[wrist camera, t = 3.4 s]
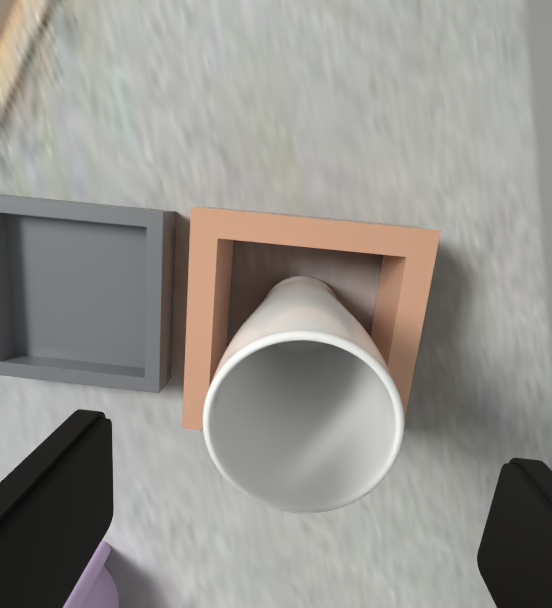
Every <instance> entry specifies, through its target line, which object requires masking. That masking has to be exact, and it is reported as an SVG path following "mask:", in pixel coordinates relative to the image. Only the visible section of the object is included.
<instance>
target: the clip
mask: <svg viewBox="0 0 552 608" xmlns="http://www.w3.org/2000/svg"><path fill="white" fill-rule="evenodd" d="M110 553H111V547H110V546H109V545H108V543H106V542H104V541H101V542H100V544H99V546H98V547H97V549H96V551H95V553H94V554H93V556H92V558H91V560H90V561H89V563H88V565H87V567H86V568H85V570H84V572H83V573H82V575H81V577H80V579H79V580H78V582H77V584H76V586H75V587H74V589H73V591H72V593H71V594H70V596H69V598H68V599H67V601H66V603H65V605H64V606H63V608H118V607H119V598H118V592H117V588H116V585H115V583H114V580H113V578H112V576H111V575H110V573H109V572H108V570H107V569H106V567H105V566H104V564H105V562H106V560H107V558H108V556H109V554H110Z"/></svg>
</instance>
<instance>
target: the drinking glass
mask: <svg viewBox="0 0 552 608" xmlns="http://www.w3.org/2000/svg"><path fill="white" fill-rule="evenodd" d="M404 425H405V420H404V410H403V405H402V401H401V398H400V395H399V392H398V390H397V388H396V385H395V383H394V381H393V378H392V376H391V374H390V371H389V369H388V367H387V365H386V362H385V360H384V358H383V357H382V355H381V353H380V351H379V349H378V348H377V346H376V344H375V343H374V341H373V340H372V338H371V337H370V335H369V334H368V333H367V331H366V330H365V329H364V327H363V326H362V325H361V324H360V323H359V322H358V321H357V319H356V318H355V317H354V316H353V315H352V314H351V313H350V312H349V311H348V310H347V309H346V308H345V307H344V306H343V305H342V304H341V303H340V301H339V300H338V299H337V297H336V296H335V294H334V292H333V291H332V290H331V289H330V288H329V287H328V286H327V285H326V284H325V283H323V282H321V281H320V280H318V279H315V278H312V277H308V276H294V277H290V278H287V279H284V280H282V281H281V282H279V283H277V284H276V285H275V286H274V287H273V288H272V289H271V290H270V291H269V292H268V294H267V296H266V297H265V299H264V301H263V302H262V303H261V304H260V305H259V307H258V308H257V309H256V310H255V311H254V312H253V313H252V314H251V315H250V317H249V318H248V319H247V320H246V321H245V322H244V323H243V325H242V326H241V327H240V329H239V330H238V331H237V333H236V334H235V335H234V337H233V338H232V340H231V342H230V343H229V345H228V347H227V349H226V350H225V352H224V354H223V356H222V358H221V361H220V363H219V365H218V367H217V369H216V372H215V374H214V377H213V380H212V383H211V385H210V387H209V390H208V393H207V395H206V399H205V403H204V410H203V431H204V437H205V442H206V445H207V448H208V451H209V453H210V456H211V458H212V460H213V462H214V463H215V465H216V467H217V468H218V470H219V471H220V472H221V474H222V475H223V476H224V477H225V479H226V480H227V481H228V482H229V483H230V484H231V485H232V486H233V487H235V488H236V489H237V490H238V491H239V492H241V493H242V494H244V495H245V496H247V497H248V498H250V499H252V500H254V501H255V502H257V503H260V504H262V505H264V506H267V507H270V508H273V509H276V510H280V511H285V512H291V513H320V512H326V511H331V510H335V509H338V508H341V507H344V506H347V505H349V504H351V503H353V502H355V501H357V500H359V499H360V498H362V497H364V496H365V495H367V494H368V493H369V492H371V491H372V490H373V489H374V488H375V487H377V486H378V485H379V484H380V483H381V481H382V480H383V479H384V478H385V477H386V476H387V474H388V473H389V472H390V470H391V468H392V467H393V465H394V463H395V461H396V459H397V457H398V455H399V452H400V449H401V446H402V442H403V437H404Z"/></svg>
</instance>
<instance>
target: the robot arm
mask: <svg viewBox="0 0 552 608" xmlns="http://www.w3.org/2000/svg"><path fill="white" fill-rule="evenodd" d="M112 517H113V461H112V423H111V420H110V419H106V418H105V414H104V413H103V412H99V411H90V410H81V409H80V410H77V411H75V412H74V413H73V414H72V415H71V416H70V417H69V418H68V419H67V420H66V421H65V422H63V423H62V424H61V425H60V426H59V427H58V428H57V429H56V430H55V431H54V432H53V433H52V434H51V435H50V436H49V437H48V438H47V439H46V440H44V441H43V442H42V443H41V444H40V445H39V446H38V447H37V448H36V449H35V450H34V451H33V452H32V453H31V454H30V455H29V456H28V457H27V458H25V459H24V460H23V461H22V462H21V463H20V464H19V465H18V466H17V467H16V468H15V469H14V470H13V471H12V472H11V473H10V474H9V475H8V476H7V477H5V478H4V479H3V480H2V481H1V482H0V608H63V606H64V605H65V603H66V601H67V599H68V598H69V596H70V594H71V593H72V591H73V589H74V587H75V586H76V584H77V582H78V580H79V579H80V577H81V575H82V573H83V572H84V570H85V568H86V567H87V565H88V563H89V561H90V560H91V558H92V556H93V554H94V553H95V551H96V549H97V547H98V546H99V544H100V542H101V541H102V539H103V537H104V535H105V534H106V532H107V530H108V528H109V526H110V524H111V521H112ZM477 562H478V568H479V571H480V573H481V576H482V578H483V580H484V582H485V584H486V586H487V588H488V590H489V592H490V594H491V596H492V598H493V600H494V602H495V604H496V606H497V608H552V471H551V470H550V469H549V467H548V466H547V465H546V464H545V463H543V462H542V461H539V460H531V459H522V458H513V459H511V460H510V461H509V463H506V464H504V465H503V466H502V469H501V472H500V475H499V479H498V483H497V486H496V490H495V493H494V497H493V500H492V504H491V508H490V511H489V515H488V518H487V522H486V525H485V529H484V533H483V536H482V540H481V543H480V547H479V550H478V555H477Z"/></svg>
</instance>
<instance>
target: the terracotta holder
mask: <svg viewBox="0 0 552 608" xmlns="http://www.w3.org/2000/svg"><path fill="white" fill-rule="evenodd" d="M440 232H441V231H439V230H432V229H426V228H419V227H412V226H402V225H392V224H382V223H371V222H361V221H350V220H340V219H329V218H319V217H308V216H298V215H288V214H277V213H267V212H256V211H246V210H235V209H225V208H215V207H191V217H190V242H189V268H188V293H187V318H186V344H185V369H184V394H183V420H182V428H188V429H197V430H203V410H204V403H205V399H206V395H207V393H208V390H209V387H210V385H211V383H212V380H213V377H214V374H215V372H216V369H217V367H218V365H219V363H220V361H221V358H222V356H223V354H224V352H225V350H226V349H227V334H228V319H229V304H230V289H231V274H232V259H233V244H234V240H239V241H250V242H260V243H270V244H280V245H290V246H300V247H310V248H321V249H331V250H341V251H351V252H361V253H371V254H381V255H383V259H382V265H381V272H380V278H379V285H378V291H377V297H376V304H375V310H374V316H373V323H372V329H371V335H370V337H371V338H372V340H373V341H374V343H375V344H376V346H377V348H378V349H379V351H380V353H381V355H382V357H383V358H384V360H385V362H386V365H387V367H388V369H389V371H390V374H391V376H392V378H393V381H394V383H395V385H396V388H397V390H398V392H399V395H400V398H401V401H402V405H403V410H404V420H405V417H406V412H407V406H408V401H409V396H410V390H411V385H412V380H413V375H414V369H415V364H416V359H417V354H418V348H419V343H420V338H421V333H422V327H423V322H424V317H425V311H426V306H427V301H428V296H429V290H430V285H431V280H432V275H433V269H434V264H435V259H436V254H437V248H438V243H439V238H440Z"/></svg>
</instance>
